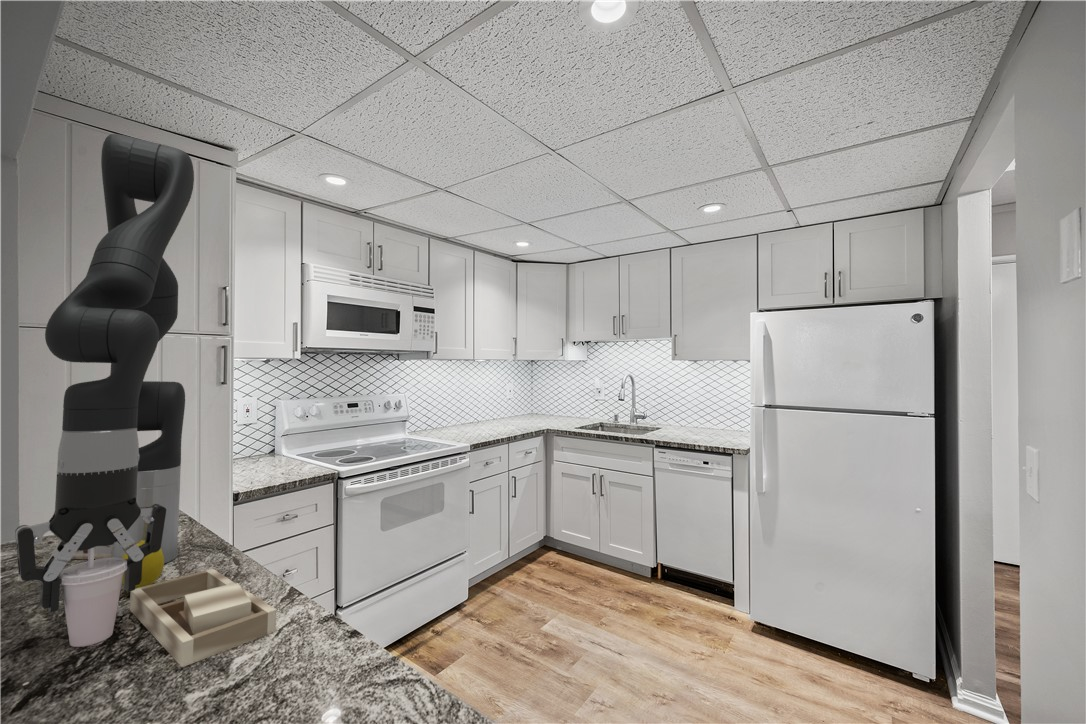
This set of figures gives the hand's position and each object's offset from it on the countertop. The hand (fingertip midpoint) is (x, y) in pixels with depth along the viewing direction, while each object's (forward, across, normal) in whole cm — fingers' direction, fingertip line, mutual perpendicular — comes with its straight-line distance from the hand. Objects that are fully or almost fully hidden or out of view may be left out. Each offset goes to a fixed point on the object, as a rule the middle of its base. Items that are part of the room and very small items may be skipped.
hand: (92, 598), depth 60 cm
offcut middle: (+5, -10, +10) cm, 15 cm away
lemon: (+6, -8, -16) cm, 19 cm away
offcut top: (+3, -10, +10) cm, 15 cm away
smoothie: (+6, 0, 0) cm, 6 cm away
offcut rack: (+6, -10, +5) cm, 13 cm away
